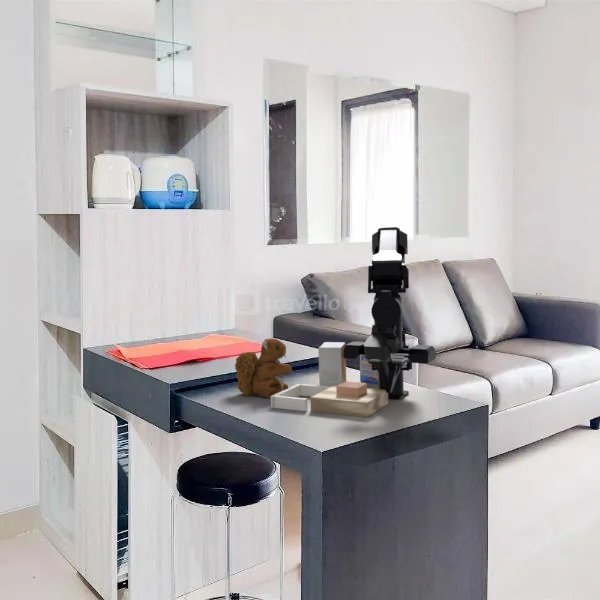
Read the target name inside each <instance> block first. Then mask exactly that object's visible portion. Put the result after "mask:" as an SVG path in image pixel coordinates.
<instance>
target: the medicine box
mask: <svg viewBox="0 0 600 600" xmlns="http://www.w3.org/2000/svg"><path fill="white" fill-rule="evenodd" d="M368 361H369V360H367V359H366V358H365V355H359V383H367V384H371V385H372V384H375V385H378V370H374V371H372V364H369V363H368Z"/></svg>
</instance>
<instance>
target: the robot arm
mask: <svg viewBox="0 0 600 600" xmlns="http://www.w3.org/2000/svg"><path fill="white" fill-rule="evenodd" d="M408 248H409V246H408V234H407V233H406V232H404V231H402V230H401V229H400V226H397V225H388V226H387V225H381V226H380V227H377V231H376V232H374V233H373V234H372V235H371V253H372V257H371V264H368V267H367V271H368V275H367V277H368V278H367V294H374V297H373V304H372V307H371V313H370V314H371V316H372V319H373V324H372V325H371V331H370V332H371V333H370V336H368V337H367V338H366V340H365V341H352V342H349V343H347V344H346V345H345V346H344V348H343V358H346V359H351V360H356V359H357V358H358V357H360V355H365V358H366V359H367V360H369V361H368V363H369V364H372V371H374V370H378V384H377V385H378V388H377V389H382V390H386V393H388V399H395V400H401V399H403V397H405V396H406V395H408V394H409V392H410V391H409V390H404V388H405V387H404V385H405V384H404V371H410V370H412V369H413V364H422V365H423V364H429V363H431V362H432V361H434V360H436V357H437V356H436V348H435V347H434V346H433V345H428V344H427V345H425V344H424V345H423V344H415V345H413V346H412V347H410V345H409V343H407V342H406V333H405V331H404V329H403V328H405V327H404V326H405V325H404V323H405V322H403V321H402V320H403V319H402V318H403V317H402V315H403V312H402V311H403V310H402V307H403V305H402V300H403V299H402V296H401V294H406V293H407V289H409V288H410V284H409V283H410V279H409V278H410V276H409V274H410V270H409V268H408V267H407V264H406V256H405V255H408V252H409V250H408ZM402 286H403V287H402Z"/></svg>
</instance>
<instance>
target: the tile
mask: <svg viewBox="0 0 600 600" xmlns="http://www.w3.org/2000/svg"><path fill="white" fill-rule="evenodd" d="M367 388H368V383H363V382H360V381H359V382H356V381H347V380H346V382H344V383H342V384H340V385H338V386H336V393H337V396H348V397H360V396H362V395H363V394H365V393H367Z"/></svg>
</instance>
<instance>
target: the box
mask: <svg viewBox="0 0 600 600" xmlns="http://www.w3.org/2000/svg"><path fill="white" fill-rule="evenodd" d="M328 388H330V387H329V386H320V385H319V384H318V385H316V384H305V383H297V384H295V385H293V386H289V387H288V389H286V390H283V391H281V392H279V393H277V394H275V395H272V396H271V398H270V408H273V409H280V410H281V409H282V410H291V411H299V412H300V411H301V412H307V411H308V410H309V409H308V404H309V403H308V398H304V397H312V396H314V395H316V394H318V393H320V392H322V391H324V390H326V389H328ZM300 396H303V397H300Z"/></svg>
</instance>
